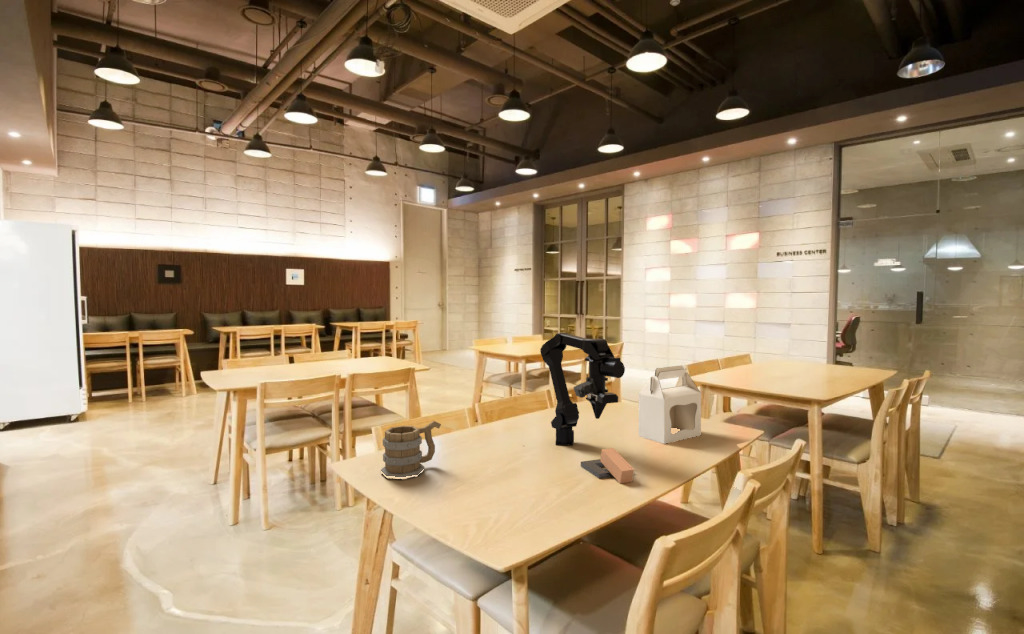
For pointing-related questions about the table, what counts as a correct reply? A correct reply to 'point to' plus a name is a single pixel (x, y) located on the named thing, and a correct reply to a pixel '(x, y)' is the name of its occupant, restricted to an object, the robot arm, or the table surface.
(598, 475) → the plate
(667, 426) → the gable box
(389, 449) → the tankard
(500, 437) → the table surface
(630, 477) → the block
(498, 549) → the table surface
